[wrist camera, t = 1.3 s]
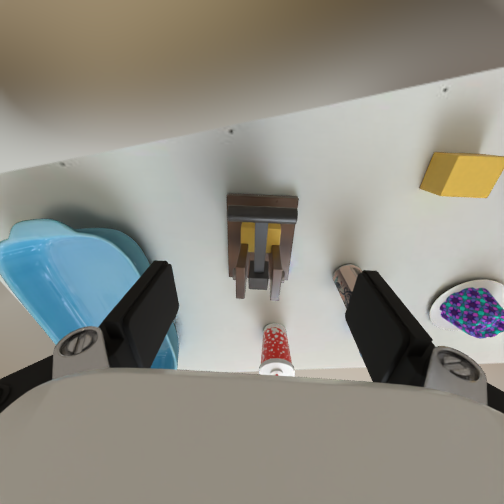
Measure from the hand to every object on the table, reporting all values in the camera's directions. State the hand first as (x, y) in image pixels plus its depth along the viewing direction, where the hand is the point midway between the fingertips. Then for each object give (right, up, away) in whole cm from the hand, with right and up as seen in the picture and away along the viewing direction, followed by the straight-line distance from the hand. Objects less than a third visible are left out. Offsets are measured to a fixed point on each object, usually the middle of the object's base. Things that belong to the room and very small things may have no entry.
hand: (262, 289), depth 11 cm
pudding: (+37, -7, +28) cm, 47 cm away
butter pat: (+25, +12, +17) cm, 33 cm away
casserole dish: (-26, -7, +31) cm, 41 cm away
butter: (+1, +6, +21) cm, 22 cm away
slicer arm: (0, +3, +12) cm, 12 cm away
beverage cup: (+4, -14, +34) cm, 37 cm away
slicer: (+1, +4, +23) cm, 24 cm away
